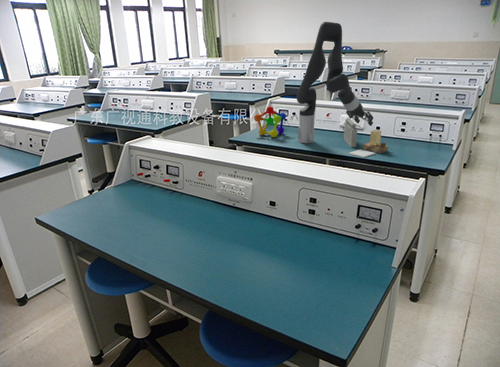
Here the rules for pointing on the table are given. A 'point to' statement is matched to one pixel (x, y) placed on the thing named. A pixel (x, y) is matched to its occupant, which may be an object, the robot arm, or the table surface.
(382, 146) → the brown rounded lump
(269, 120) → the molecular model
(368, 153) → the mat
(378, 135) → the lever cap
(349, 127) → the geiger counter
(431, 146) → the table surface
